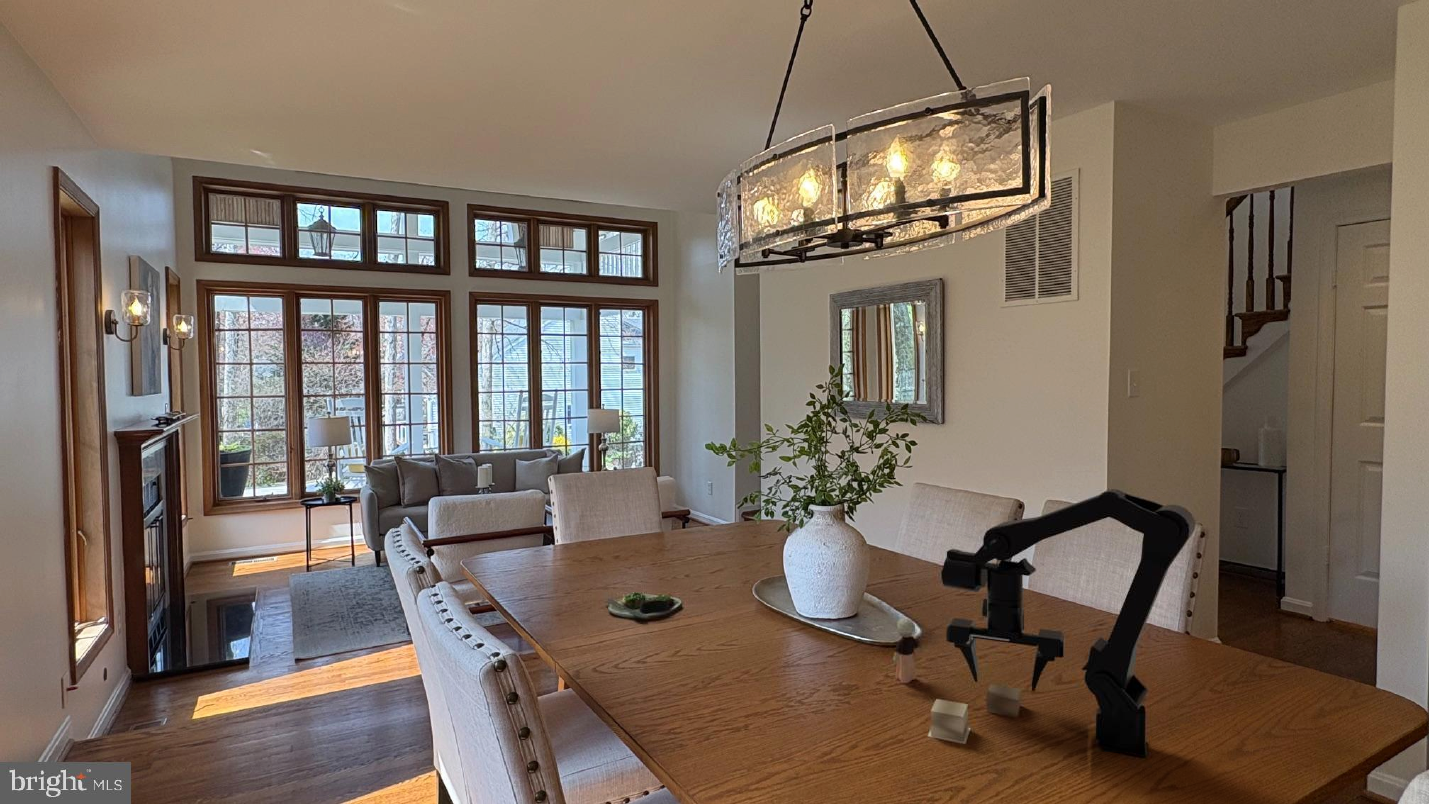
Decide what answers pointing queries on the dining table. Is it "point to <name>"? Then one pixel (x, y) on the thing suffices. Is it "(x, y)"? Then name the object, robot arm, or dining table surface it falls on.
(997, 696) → the walnut block
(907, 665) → the grandmother figurine
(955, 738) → the maple block
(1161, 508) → the robot arm
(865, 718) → the dining table surface
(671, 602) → the salad plate
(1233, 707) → the dining table surface
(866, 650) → the dining table surface
